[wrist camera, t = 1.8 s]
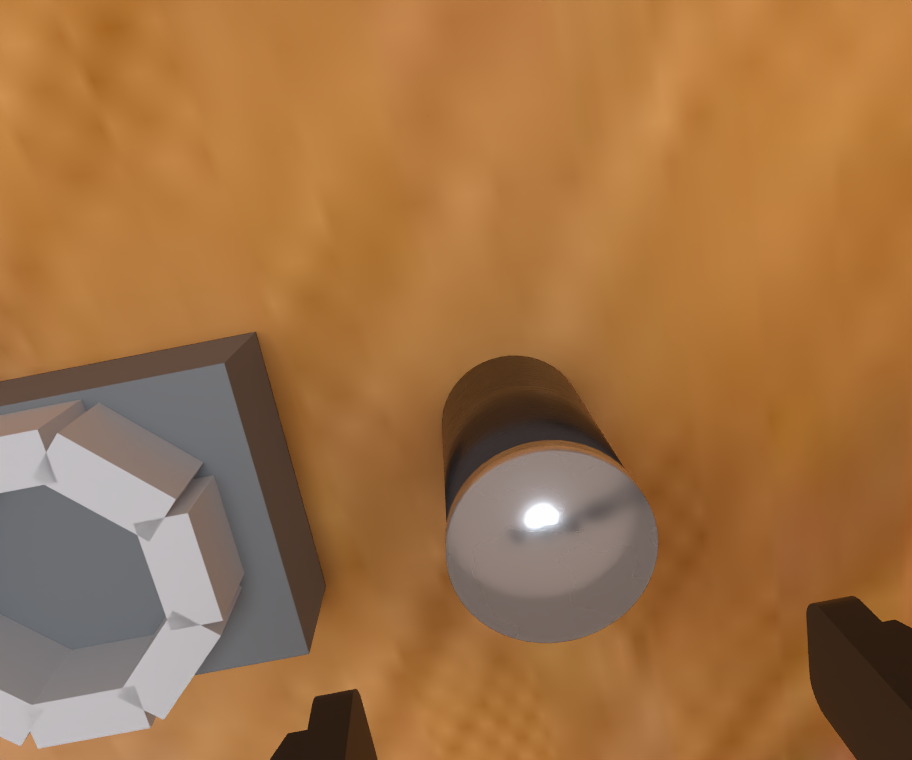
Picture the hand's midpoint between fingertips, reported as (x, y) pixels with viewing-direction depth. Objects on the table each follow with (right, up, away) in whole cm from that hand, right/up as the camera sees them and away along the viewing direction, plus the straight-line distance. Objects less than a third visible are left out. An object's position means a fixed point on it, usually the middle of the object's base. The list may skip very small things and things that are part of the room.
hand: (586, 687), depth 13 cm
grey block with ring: (-14, +1, +14) cm, 20 cm away
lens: (0, +4, +13) cm, 14 cm away
